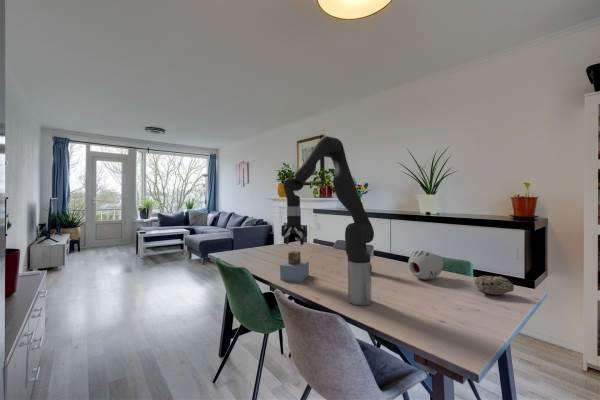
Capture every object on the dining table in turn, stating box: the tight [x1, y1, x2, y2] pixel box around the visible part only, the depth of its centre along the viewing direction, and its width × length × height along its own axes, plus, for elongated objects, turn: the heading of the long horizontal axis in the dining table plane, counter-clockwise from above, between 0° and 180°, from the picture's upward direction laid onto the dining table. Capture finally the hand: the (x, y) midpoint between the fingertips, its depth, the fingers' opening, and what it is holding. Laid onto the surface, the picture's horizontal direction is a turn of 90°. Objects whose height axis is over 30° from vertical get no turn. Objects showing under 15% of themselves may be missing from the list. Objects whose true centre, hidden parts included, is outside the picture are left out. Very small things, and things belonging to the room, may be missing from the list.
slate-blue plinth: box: [279, 260, 310, 283], centre depth 148 cm, size 12×12×8 cm
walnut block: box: [287, 250, 302, 265], centre depth 148 cm, size 5×5×6 cm
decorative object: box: [408, 250, 445, 281], centre depth 143 cm, size 16×19×15 cm
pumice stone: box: [473, 275, 515, 296], centre depth 119 cm, size 14×12×8 cm
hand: (294, 244), depth 148 cm, fingers open, 8 cm apart
